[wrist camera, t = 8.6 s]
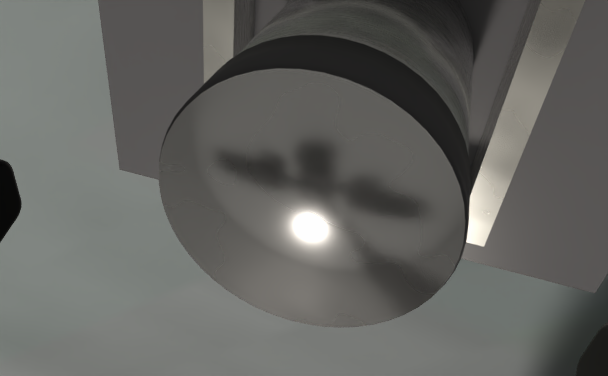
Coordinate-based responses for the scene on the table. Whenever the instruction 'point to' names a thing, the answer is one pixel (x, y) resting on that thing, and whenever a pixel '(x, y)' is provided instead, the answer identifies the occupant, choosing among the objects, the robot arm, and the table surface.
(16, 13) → the table surface
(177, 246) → the table surface
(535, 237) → the grey flat block
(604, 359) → the robot arm
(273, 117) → the lens
